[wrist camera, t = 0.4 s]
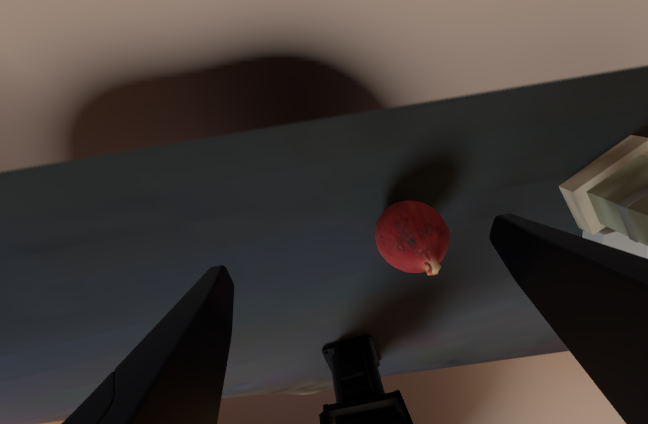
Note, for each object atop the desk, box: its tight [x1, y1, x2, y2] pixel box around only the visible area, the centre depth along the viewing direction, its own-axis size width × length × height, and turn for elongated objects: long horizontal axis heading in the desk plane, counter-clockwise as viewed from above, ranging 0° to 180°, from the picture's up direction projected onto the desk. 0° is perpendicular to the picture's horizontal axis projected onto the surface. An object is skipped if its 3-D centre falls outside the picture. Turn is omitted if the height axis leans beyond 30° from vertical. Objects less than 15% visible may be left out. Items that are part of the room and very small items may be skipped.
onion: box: [375, 200, 449, 275], centre depth 21 cm, size 6×6×8 cm
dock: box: [582, 227, 648, 259], centre depth 29 cm, size 9×10×2 cm
